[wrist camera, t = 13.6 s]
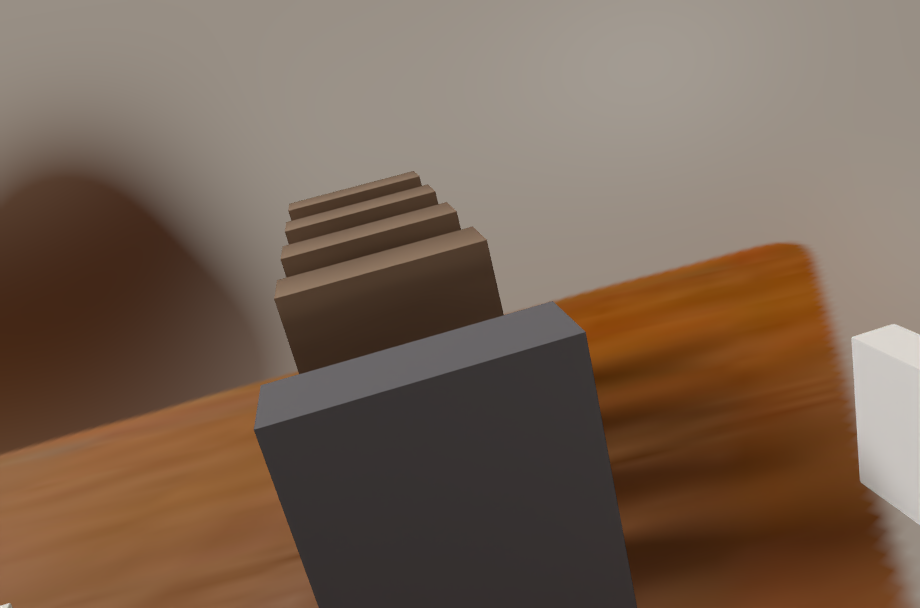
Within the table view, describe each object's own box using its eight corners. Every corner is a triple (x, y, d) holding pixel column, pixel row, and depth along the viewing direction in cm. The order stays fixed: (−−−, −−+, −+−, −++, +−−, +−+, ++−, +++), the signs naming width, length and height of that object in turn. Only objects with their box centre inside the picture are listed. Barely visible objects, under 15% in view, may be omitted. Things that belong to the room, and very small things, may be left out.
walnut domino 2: (526, 508, 24) (456, 211, 21) (376, 556, 24) (280, 259, 20) (513, 482, 26) (446, 202, 22) (372, 527, 25) (282, 246, 22)
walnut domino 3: (498, 452, 28) (434, 191, 24) (368, 492, 27) (284, 231, 24) (489, 432, 29) (427, 184, 26) (365, 470, 29) (286, 222, 25)
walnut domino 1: (563, 583, 21) (486, 239, 17) (388, 642, 20) (273, 298, 17) (547, 548, 22) (472, 226, 19) (383, 602, 22) (277, 280, 18)
